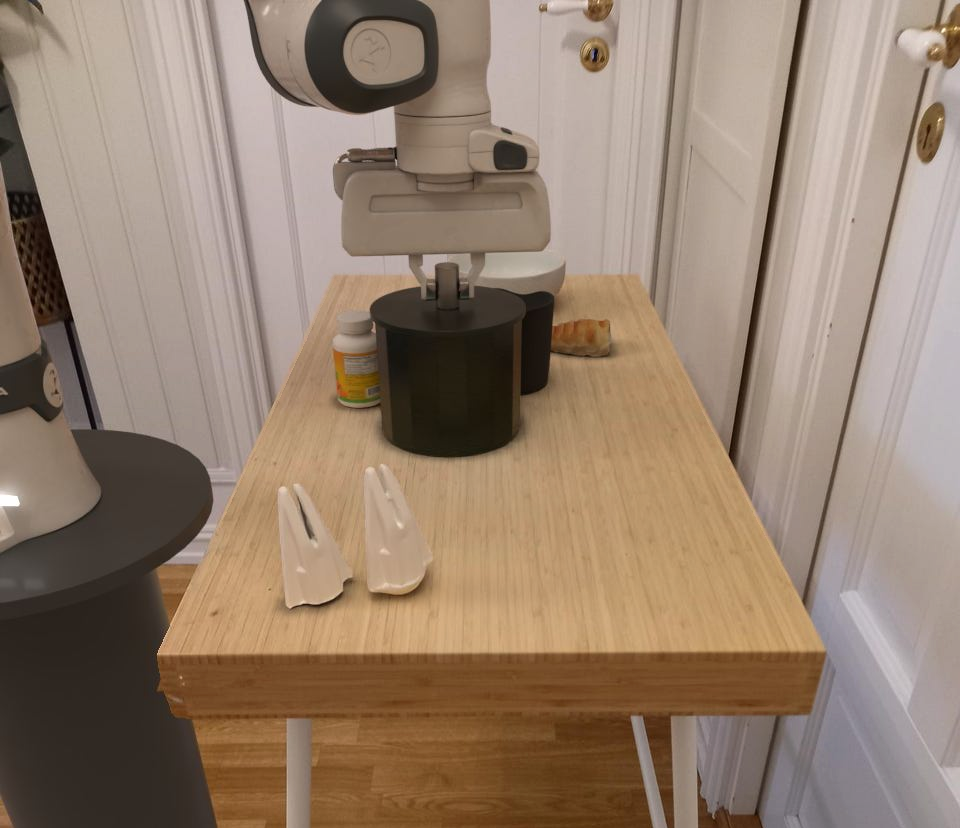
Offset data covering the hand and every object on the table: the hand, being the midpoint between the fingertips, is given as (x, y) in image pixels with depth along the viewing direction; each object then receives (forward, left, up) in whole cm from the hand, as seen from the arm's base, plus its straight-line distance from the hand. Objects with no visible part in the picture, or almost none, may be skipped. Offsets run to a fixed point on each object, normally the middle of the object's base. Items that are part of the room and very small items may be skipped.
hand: (447, 298), depth 97 cm
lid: (0, 0, -1) cm, 1 cm away
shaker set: (-9, -32, -14) cm, 36 cm away
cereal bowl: (+10, +42, -14) cm, 45 cm away
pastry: (+18, +24, -14) cm, 33 cm away
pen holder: (+8, +13, -14) cm, 21 cm away
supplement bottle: (-10, +9, -14) cm, 19 cm away
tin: (0, 0, -14) cm, 14 cm away
